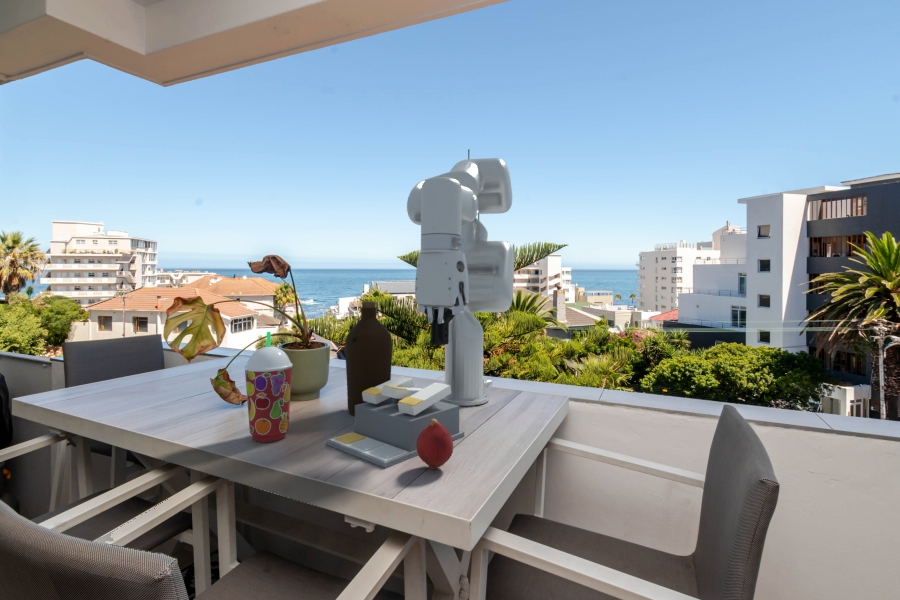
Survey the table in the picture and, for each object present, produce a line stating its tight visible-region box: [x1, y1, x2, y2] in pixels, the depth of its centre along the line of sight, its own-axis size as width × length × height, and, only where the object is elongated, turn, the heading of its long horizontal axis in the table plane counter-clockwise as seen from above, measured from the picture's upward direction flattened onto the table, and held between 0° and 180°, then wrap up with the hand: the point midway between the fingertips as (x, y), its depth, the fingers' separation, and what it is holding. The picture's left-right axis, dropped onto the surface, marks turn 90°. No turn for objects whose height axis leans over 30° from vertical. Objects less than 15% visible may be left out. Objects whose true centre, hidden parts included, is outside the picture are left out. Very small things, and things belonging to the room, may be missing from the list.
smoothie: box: [244, 331, 293, 443], centre depth 86 cm, size 8×8×20 cm
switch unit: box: [325, 398, 465, 469], centre depth 85 cm, size 20×16×7 cm
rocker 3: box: [398, 381, 451, 416], centre depth 84 cm, size 10×4×3 cm, turn 140°
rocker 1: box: [362, 375, 415, 404], centre depth 90 cm, size 10×4×3 cm, turn 139°
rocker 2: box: [381, 385, 423, 401], centre depth 87 cm, size 10×4×3 cm, turn 140°
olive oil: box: [344, 300, 393, 416], centre depth 104 cm, size 11×11×25 cm
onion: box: [416, 419, 454, 470], centre depth 72 cm, size 6×6×8 cm
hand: (439, 344), depth 86 cm, fingers closed
